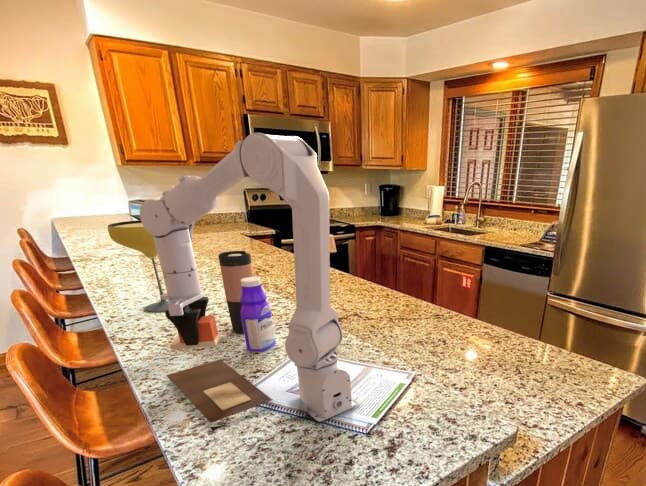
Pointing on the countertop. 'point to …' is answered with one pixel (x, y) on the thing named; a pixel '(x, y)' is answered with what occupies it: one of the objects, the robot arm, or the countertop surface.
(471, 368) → the countertop surface
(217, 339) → the orange cube on base
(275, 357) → the countertop surface
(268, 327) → the bottle
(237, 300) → the travel mug
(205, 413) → the flat brown mat
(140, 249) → the cocktail glass
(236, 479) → the countertop surface
